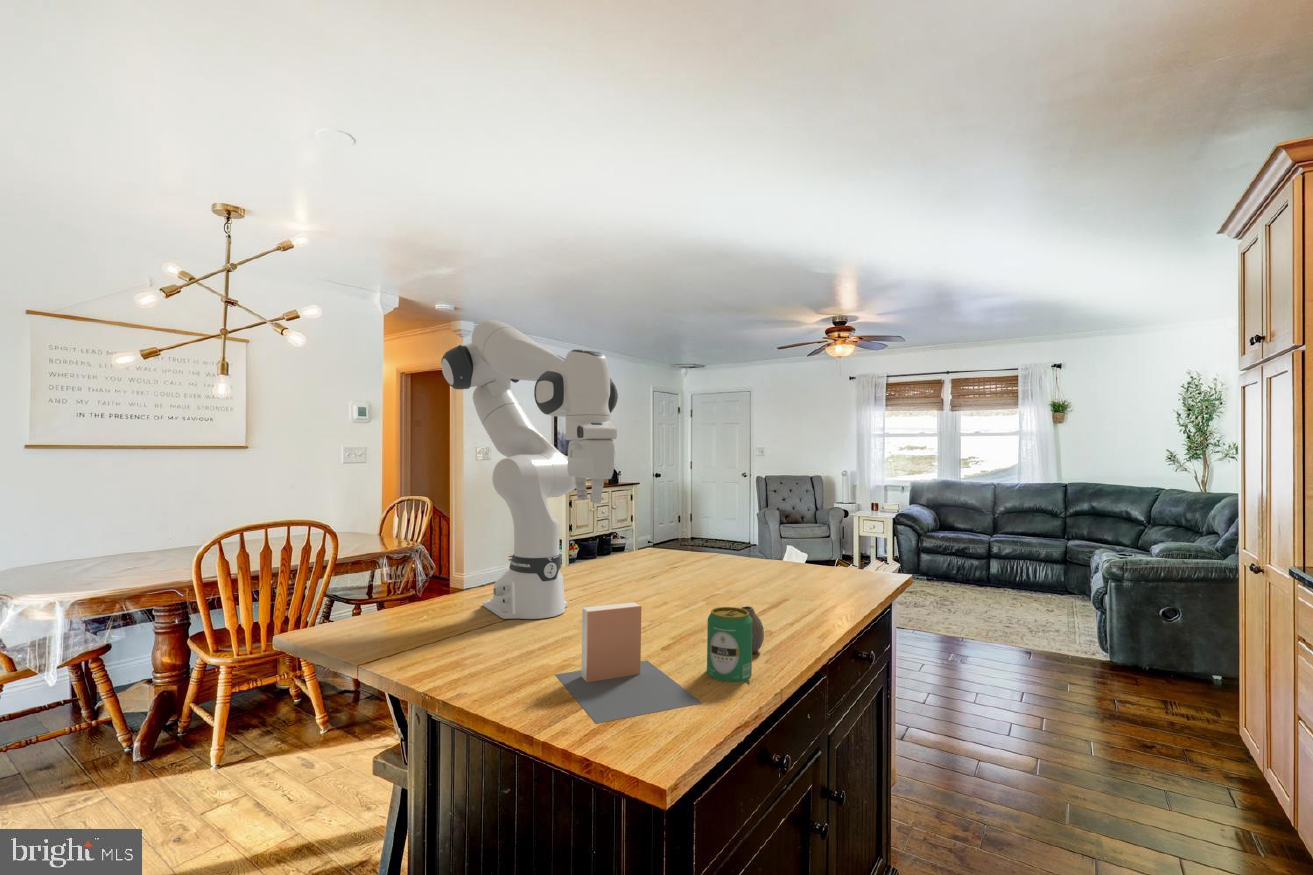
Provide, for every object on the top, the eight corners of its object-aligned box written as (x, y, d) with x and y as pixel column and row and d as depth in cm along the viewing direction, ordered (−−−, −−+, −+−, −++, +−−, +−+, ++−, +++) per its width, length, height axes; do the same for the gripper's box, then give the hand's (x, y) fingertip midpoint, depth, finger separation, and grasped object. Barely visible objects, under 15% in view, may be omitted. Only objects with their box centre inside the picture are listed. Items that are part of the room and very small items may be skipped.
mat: (554, 679, 109) (554, 674, 109) (647, 665, 116) (647, 660, 116) (595, 730, 90) (595, 723, 90) (702, 709, 98) (703, 702, 98)
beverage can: (700, 682, 109) (701, 614, 109) (714, 668, 116) (715, 604, 116) (744, 690, 105) (745, 620, 106) (756, 675, 113) (757, 609, 113)
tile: (581, 676, 108) (582, 607, 108) (633, 668, 112) (634, 602, 112) (586, 682, 105) (588, 611, 105) (640, 673, 110) (641, 606, 110)
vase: (722, 650, 126) (723, 607, 126) (742, 642, 131) (743, 601, 131) (751, 658, 121) (751, 614, 121) (770, 650, 126) (770, 607, 127)
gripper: (559, 432, 130) (560, 498, 130) (587, 428, 111) (587, 505, 111) (588, 432, 132) (589, 497, 132) (620, 429, 113) (620, 504, 113)
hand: (588, 501), depth 121 cm, fingers open, 8 cm apart
